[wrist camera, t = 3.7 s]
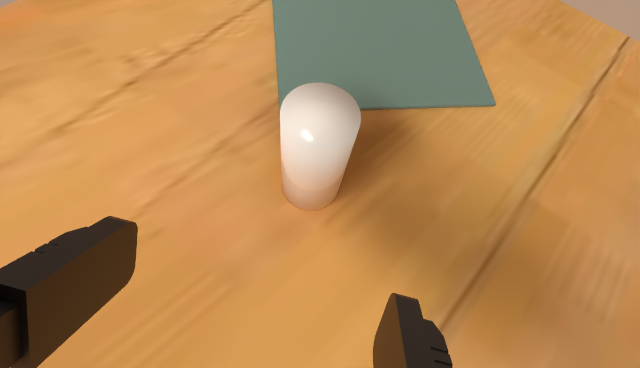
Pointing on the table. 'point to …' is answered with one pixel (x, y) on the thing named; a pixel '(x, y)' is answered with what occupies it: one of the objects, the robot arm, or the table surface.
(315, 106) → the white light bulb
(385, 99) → the felt mat
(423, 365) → the robot arm
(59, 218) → the table surface
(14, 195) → the table surface
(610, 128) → the table surface
